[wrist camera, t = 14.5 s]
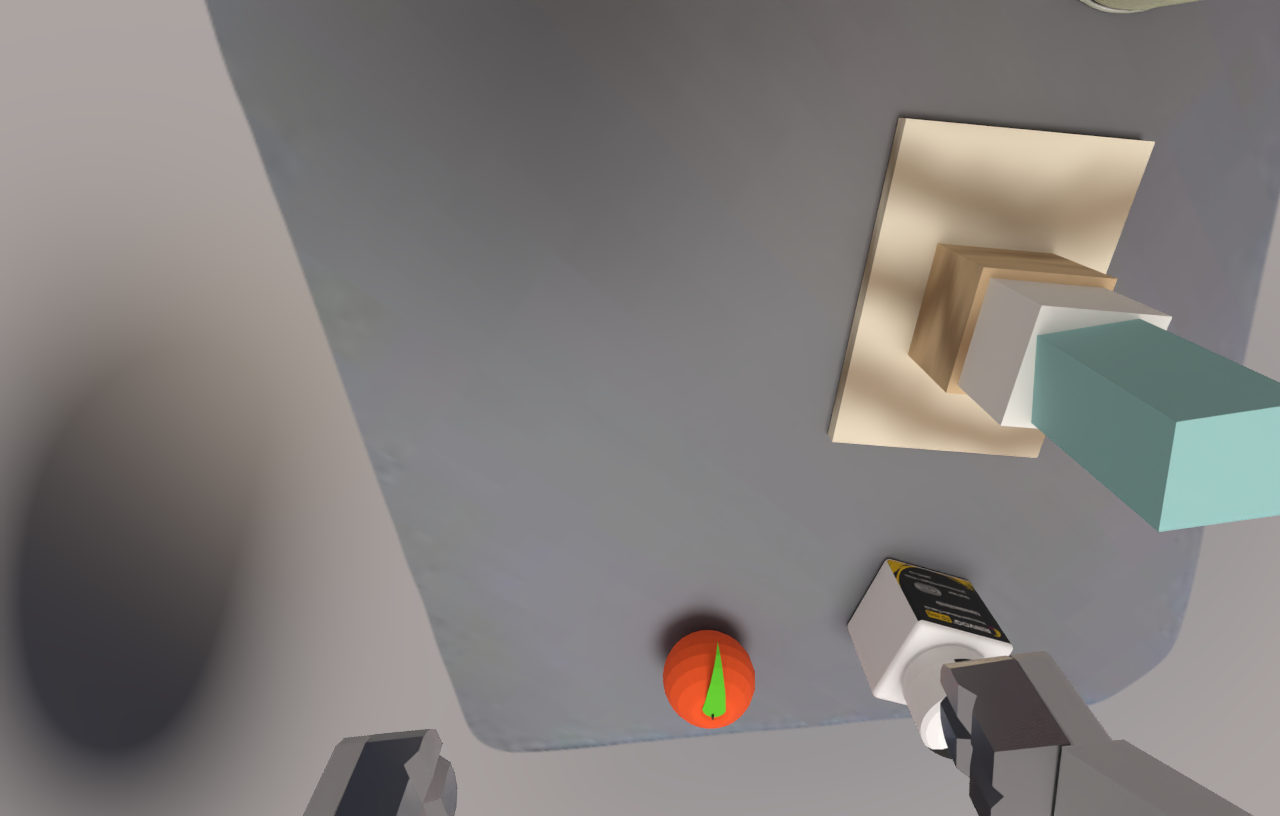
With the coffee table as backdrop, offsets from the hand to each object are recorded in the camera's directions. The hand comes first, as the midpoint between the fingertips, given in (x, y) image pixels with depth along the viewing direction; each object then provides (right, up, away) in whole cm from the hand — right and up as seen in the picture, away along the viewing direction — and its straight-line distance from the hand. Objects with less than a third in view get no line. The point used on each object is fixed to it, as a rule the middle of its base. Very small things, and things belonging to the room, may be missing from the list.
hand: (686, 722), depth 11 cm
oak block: (+20, +11, +31) cm, 38 cm away
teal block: (+20, +7, +21) cm, 30 cm away
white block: (+20, +9, +25) cm, 33 cm away
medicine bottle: (+20, -10, +42) cm, 48 cm away
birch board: (+20, +12, +32) cm, 40 cm away
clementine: (+4, -13, +44) cm, 46 cm away
